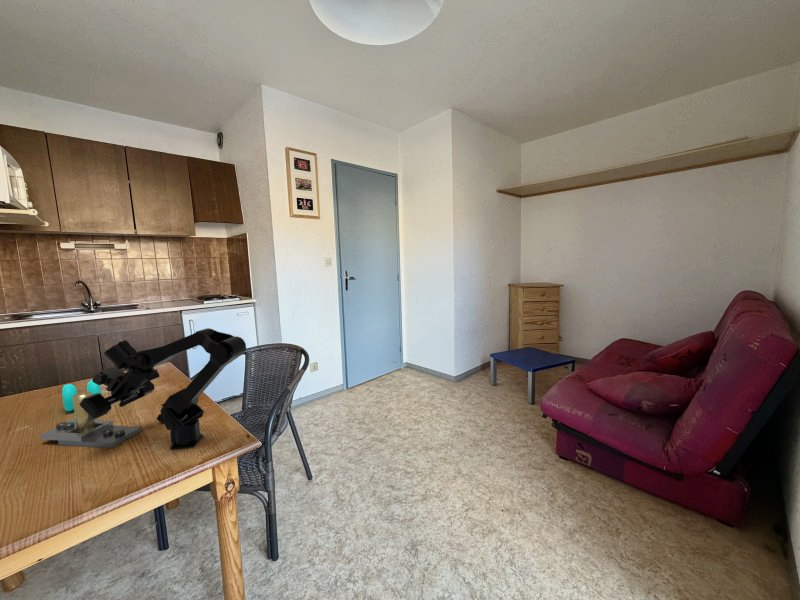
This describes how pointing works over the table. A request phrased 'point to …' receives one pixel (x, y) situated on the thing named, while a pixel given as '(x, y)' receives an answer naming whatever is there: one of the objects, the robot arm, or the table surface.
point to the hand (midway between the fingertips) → (105, 412)
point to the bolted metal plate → (91, 434)
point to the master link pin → (82, 414)
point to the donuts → (71, 390)
